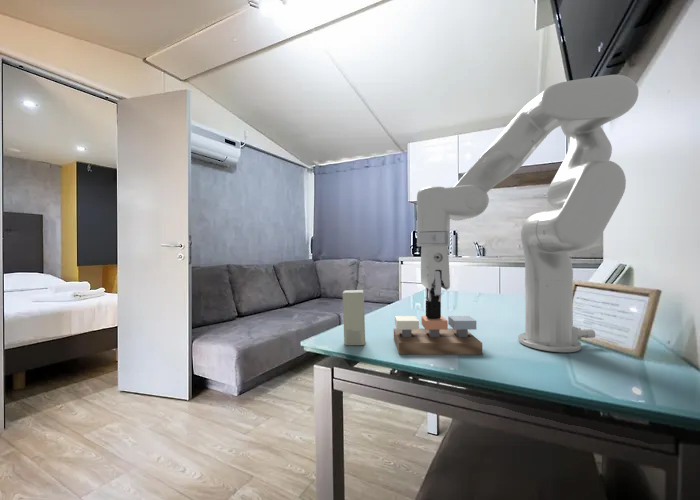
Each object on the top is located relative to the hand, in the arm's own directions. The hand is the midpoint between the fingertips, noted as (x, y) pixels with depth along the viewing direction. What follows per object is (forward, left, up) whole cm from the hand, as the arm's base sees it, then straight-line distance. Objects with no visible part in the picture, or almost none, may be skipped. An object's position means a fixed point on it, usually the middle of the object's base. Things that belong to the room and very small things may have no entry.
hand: (433, 317), depth 75 cm
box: (+19, -2, -7) cm, 20 cm away
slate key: (-7, 0, -5) cm, 8 cm away
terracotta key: (0, 0, -5) cm, 5 cm away
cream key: (+6, 0, -5) cm, 8 cm away
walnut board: (0, 0, -7) cm, 7 cm away
